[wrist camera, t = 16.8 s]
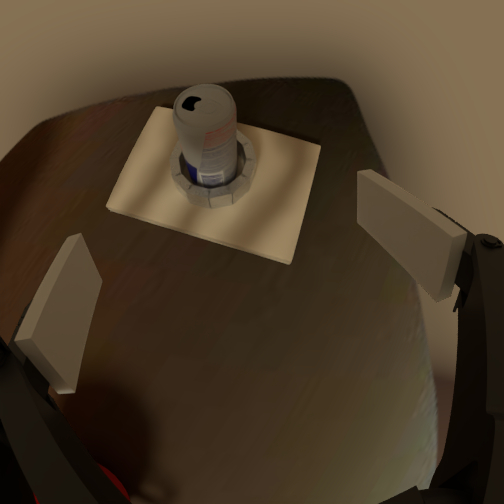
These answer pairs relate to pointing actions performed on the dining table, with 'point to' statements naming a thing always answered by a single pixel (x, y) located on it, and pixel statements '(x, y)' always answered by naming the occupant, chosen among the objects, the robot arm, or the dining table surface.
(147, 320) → the dining table surface
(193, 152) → the energy drink
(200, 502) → the dining table surface
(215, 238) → the serving board
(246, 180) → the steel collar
